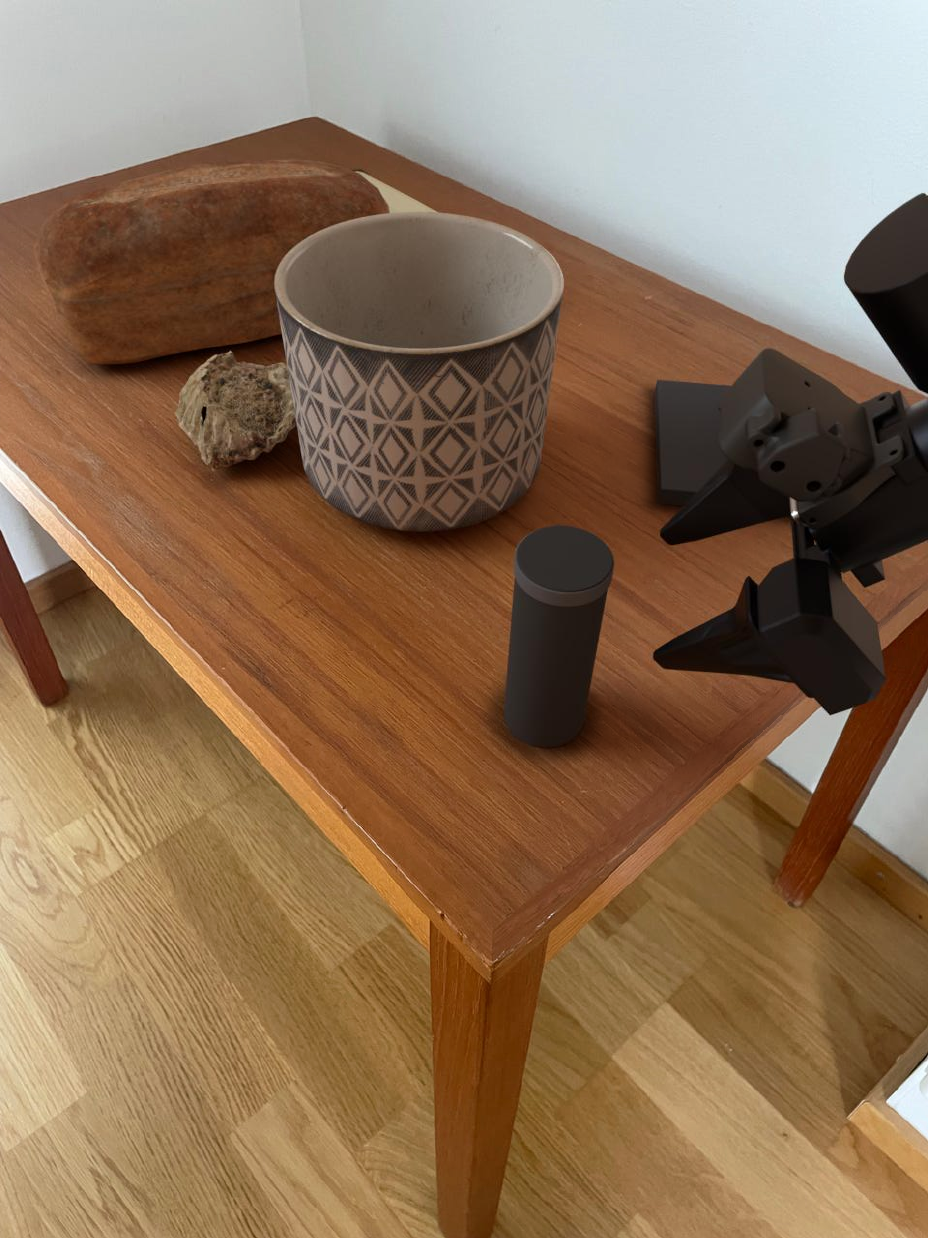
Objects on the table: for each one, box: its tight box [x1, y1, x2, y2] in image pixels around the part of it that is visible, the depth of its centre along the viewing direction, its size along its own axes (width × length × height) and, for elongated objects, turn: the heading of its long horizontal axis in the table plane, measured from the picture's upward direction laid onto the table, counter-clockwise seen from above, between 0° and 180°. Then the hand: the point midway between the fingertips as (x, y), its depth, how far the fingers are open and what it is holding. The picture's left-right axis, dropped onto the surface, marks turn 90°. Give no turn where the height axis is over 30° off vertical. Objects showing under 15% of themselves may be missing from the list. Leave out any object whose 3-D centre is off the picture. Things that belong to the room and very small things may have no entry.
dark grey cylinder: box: [503, 524, 615, 749], centre depth 55 cm, size 5×5×14 cm
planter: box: [274, 211, 565, 533], centre depth 70 cm, size 19×19×16 cm
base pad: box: [654, 379, 790, 517], centre depth 78 cm, size 15×15×3 cm
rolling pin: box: [348, 167, 437, 213], centre depth 99 cm, size 32×6×5 cm, turn 39°
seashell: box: [173, 350, 297, 473], centre depth 77 cm, size 11×7×10 cm
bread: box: [33, 158, 390, 366], centre depth 86 cm, size 12×31×14 cm, turn 112°
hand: (660, 596), depth 51 cm, fingers open, 9 cm apart
